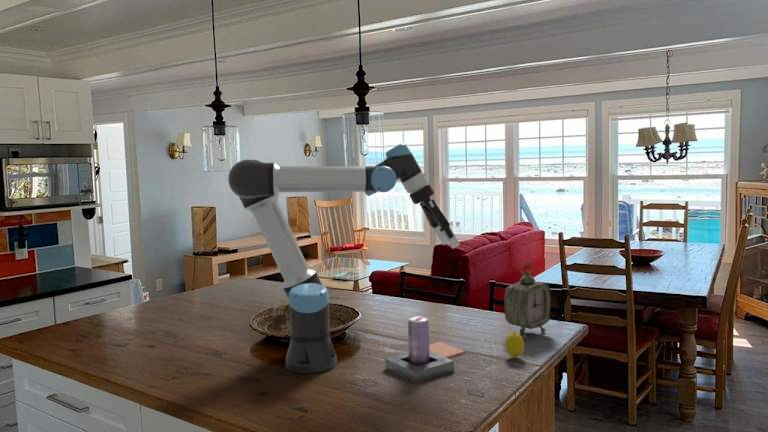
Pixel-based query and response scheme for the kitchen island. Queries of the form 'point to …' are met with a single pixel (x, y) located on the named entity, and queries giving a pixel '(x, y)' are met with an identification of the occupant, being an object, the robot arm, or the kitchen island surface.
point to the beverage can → (418, 340)
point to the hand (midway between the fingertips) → (451, 244)
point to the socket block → (419, 367)
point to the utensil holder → (280, 320)
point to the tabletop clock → (527, 303)
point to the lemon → (514, 344)
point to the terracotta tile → (445, 350)
